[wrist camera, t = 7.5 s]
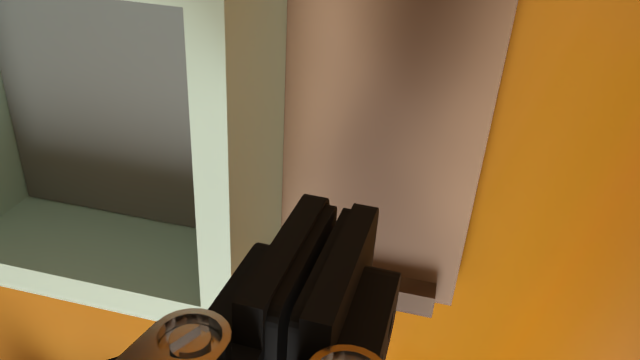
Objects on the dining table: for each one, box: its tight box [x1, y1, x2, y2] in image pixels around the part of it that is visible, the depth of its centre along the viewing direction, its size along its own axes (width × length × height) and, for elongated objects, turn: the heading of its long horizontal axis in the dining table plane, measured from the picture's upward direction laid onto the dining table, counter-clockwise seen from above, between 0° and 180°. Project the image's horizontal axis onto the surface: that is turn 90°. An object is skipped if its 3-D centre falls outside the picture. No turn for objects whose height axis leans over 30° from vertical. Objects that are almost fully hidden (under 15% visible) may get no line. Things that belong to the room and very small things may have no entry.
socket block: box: [0, 0, 287, 321], centre depth 16 cm, size 10×10×4 cm
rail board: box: [281, 0, 518, 318], centre depth 15 cm, size 17×12×9 cm
